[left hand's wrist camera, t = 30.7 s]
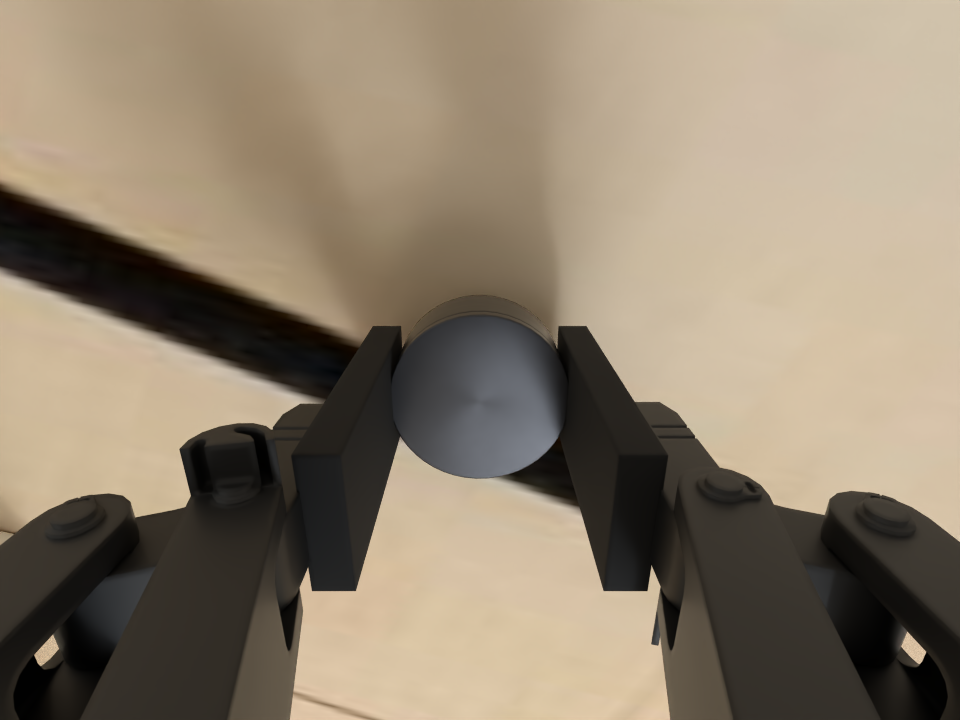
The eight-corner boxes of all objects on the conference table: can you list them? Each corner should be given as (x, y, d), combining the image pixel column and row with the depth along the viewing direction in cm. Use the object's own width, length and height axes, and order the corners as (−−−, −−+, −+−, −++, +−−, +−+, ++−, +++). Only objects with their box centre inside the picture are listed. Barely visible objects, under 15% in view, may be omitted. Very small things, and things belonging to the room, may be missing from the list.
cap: (561, 436, 15) (572, 472, 13) (411, 447, 15) (402, 484, 13) (556, 287, 13) (568, 307, 12) (389, 302, 14) (375, 322, 12)
